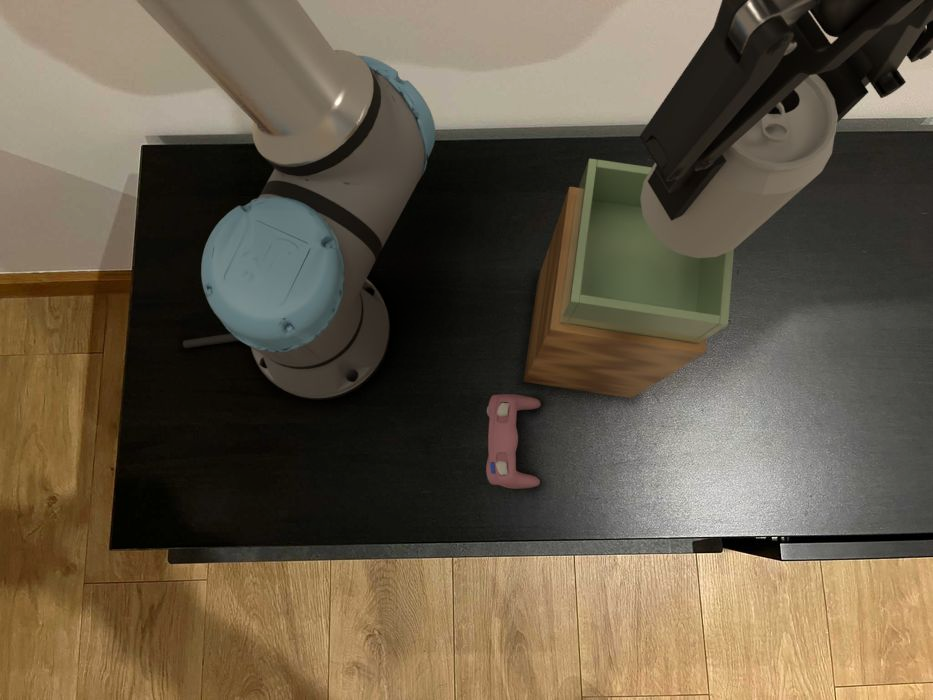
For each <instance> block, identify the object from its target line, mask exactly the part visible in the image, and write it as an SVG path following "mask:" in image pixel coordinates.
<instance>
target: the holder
mask: <svg viewBox="0 0 933 700" xmlns="http://www.w3.org/2000/svg"><path fill="white" fill-rule="evenodd" d="M652 167H653V166H652ZM652 167H650V166H644V165H637V164H630V163H624V162H617V161H609V160H604V159H596V158H589V159H588V161H587V163H586V166H585V169H584V171H583V174H582V177H581V180H580V183H579V185H578V187H577V188H578V190H577V193H576V197H575V205H574V213H573V220H572V228H571V235H570V243H569V250H568V258H567V266H566V273H565V281H564V288H563V296H562V303H561V311H560V318H559V323H562V324H569V325H575V326H582V327H588V328H595V329H602V330H608V331H615V332H621V333H628V334H634V335H641V336H648V337H654V338H661V339H667V340H674V341H680V342H687V343H694V344H700V343H701V342H703V341H704V340H706V339H707V340H708V339H709V338H711V337H712V336H713V335H715V334H716V333H718V332H719V331H721V330H723V329H724V328H726V327H727V326H728V325H729V318H730V317H729V316H730V304H731V303H730V302H731V293H732V292H731V291H732V280H733V279H732V278H733V267H734V265H733V264H734V254H735V253H734V252H735V249H733V250H732V251H730V252H727V253H725V254H722V255H720V256H717V257H708V258H695V257H690V256H686V255H682V254H679V253H677V252H675V251H673V250H672V249H670V248H668V247H666V246H665V245H663V244H662V243H661V242H660V241H659V240H658V239H657V238H656V237H655V235H654V234H653V233H652V232H651V231H650V229H649V227H648V225H647V223H646V221H645V219H644V217H643V215H642V207H641V200H640V197H641V192H642V187H643V182H644V180H645V179H646V177H647V175H648V174H649V172H650V170H651V169H652Z"/></svg>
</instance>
